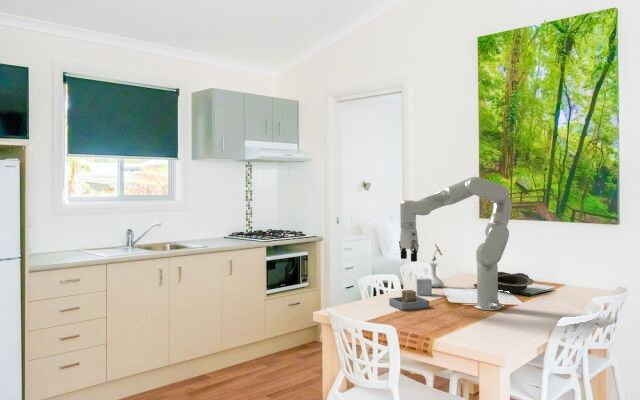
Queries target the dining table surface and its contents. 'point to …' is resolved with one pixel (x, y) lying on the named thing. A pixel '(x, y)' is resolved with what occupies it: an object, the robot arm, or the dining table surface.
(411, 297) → the walnut block
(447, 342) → the dining table surface
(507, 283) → the stone bowl
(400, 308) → the tray
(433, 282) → the flower in vase
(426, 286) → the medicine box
